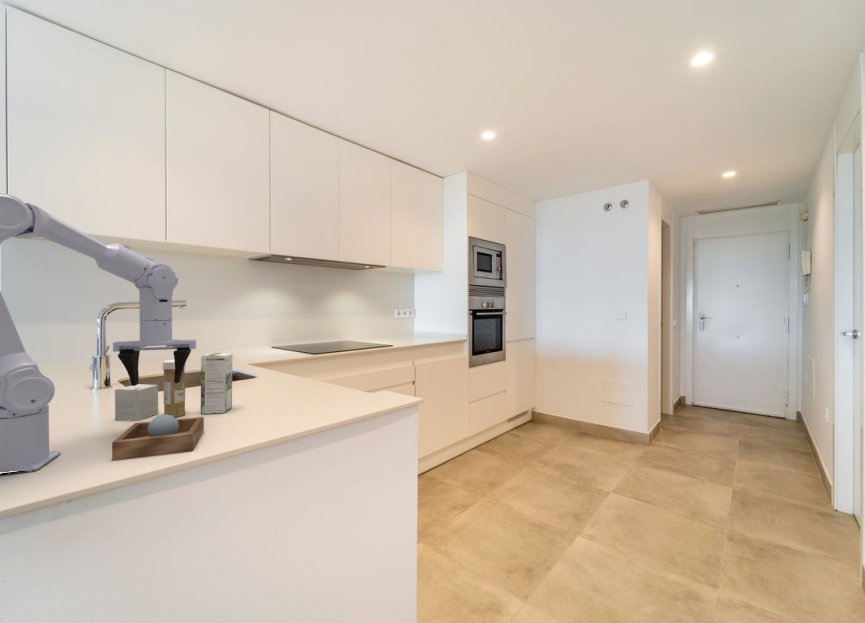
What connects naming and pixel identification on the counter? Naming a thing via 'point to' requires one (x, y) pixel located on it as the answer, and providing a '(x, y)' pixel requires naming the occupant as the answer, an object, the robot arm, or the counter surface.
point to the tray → (157, 440)
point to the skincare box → (136, 402)
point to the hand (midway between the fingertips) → (156, 383)
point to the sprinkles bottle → (173, 391)
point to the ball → (163, 426)
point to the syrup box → (216, 383)
